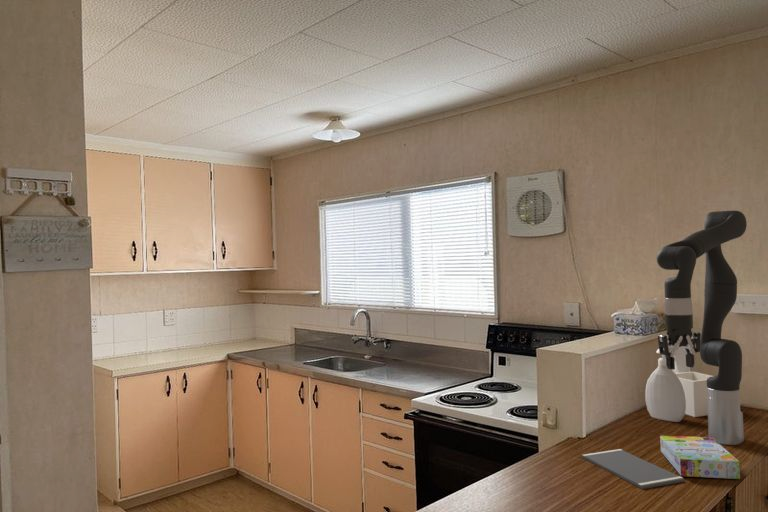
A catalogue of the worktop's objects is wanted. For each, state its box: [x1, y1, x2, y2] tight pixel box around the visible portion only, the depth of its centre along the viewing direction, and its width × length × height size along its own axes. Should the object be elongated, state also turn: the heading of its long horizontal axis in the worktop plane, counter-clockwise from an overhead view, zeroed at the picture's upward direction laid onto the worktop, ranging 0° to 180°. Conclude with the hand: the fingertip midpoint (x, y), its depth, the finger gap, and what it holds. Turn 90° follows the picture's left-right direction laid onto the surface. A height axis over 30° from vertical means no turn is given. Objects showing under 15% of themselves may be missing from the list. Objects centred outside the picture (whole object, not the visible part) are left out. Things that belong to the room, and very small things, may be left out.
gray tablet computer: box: [580, 448, 686, 490], centre depth 165 cm, size 14×26×1 cm, turn 17°
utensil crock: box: [675, 371, 714, 418], centre depth 219 cm, size 14×14×14 cm
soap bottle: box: [644, 348, 686, 423], centre depth 211 cm, size 14×8×27 cm, turn 39°
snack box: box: [659, 435, 741, 480], centre depth 166 cm, size 21×6×15 cm
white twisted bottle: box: [671, 345, 691, 373], centre depth 233 cm, size 8×8×28 cm
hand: (680, 367), depth 171 cm, fingers open, 6 cm apart
